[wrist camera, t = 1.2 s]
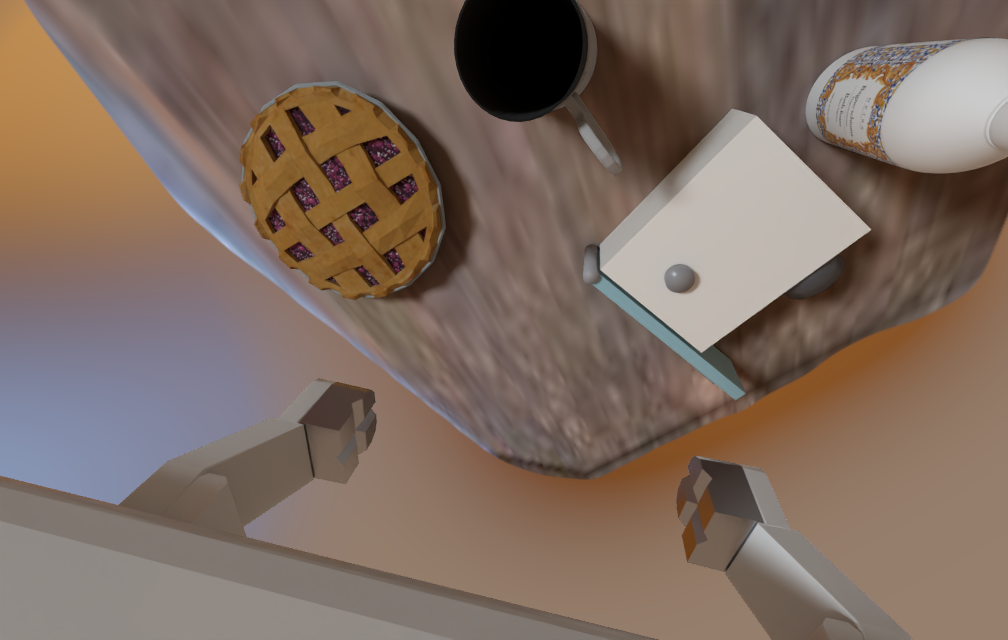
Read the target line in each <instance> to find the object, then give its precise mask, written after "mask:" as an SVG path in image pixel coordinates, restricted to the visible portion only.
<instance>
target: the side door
mask: <svg viewBox="0 0 1008 640" xmlns="http://www.w3.org/2000/svg"><path fill="white" fill-rule="evenodd" d="M583 279H584V281H585V282H586V283H588V284H593V285H594V286H595V287H596V288H597V289H599V290H600V291H601V292H602V293H604V294H605V295H606V296H607V297H609V298H610V299H611V300H612V301H614V302H615V303H616V304H617V305H618V306H620V307H621V308H622V309H623V310H625V311H626V312H627V313H628V314H630V315H631V316H632V317H633V318H635V319H636V320H637V321H638V322H640V323H641V324H642V325H643V326H644V327H646V328H647V329H648V330H649V331H651V332H652V333H653V334H654V335H656V336H657V337H658V338H659V339H661V340H662V341H663V342H664V343H665V344H667V345H668V346H669V347H670V348H672V349H673V350H674V351H675V352H677V353H678V354H679V355H680V356H682V357H683V358H684V359H685V360H686V361H688V362H689V363H690V364H691V365H693V367H694V368H695V369H696V370H697V371H698V372H699V373H701V374H702V375H703V376H704V377H706V378H707V379H708V380H709V381H711V382H712V383H713V384H716V385H717V386H719V387H720V388H721V389H722V390H724V391H725V392H726V393H727V394H729V395H730V396H731V397H732V398H733V399H735V400H736V399H738V398H739V397H741V396H743V395H744V394H746V393H745V391H744V389H743V386H742V384H741V382H740V380H739V378H738V375H737V373H736V371H735V369H734V367H733V364H732V362H731V360H730V359H729V358H728V357H726V356H725V355H724V354H723V353H722V352H720V351H719V350H718V349H717V348H716V347H714V346H713V345H711V346H710V347H709V348H707V349H706V350H705V351H703V352H702V353H701V352H700V351H699V350H697V349H696V348H695V347H694V346H692V345H691V344H690V343H689V342H688V341H686V340H685V339H684V338H683V337H681V336H680V335H679V334H678V333H677V332H675V331H674V330H673V329H672V328H670V327H669V326H668V325H667V324H666V323H664V322H663V321H662V320H661V319H659V318H658V317H657V316H656V315H655V314H653V313H652V312H651V311H650V310H649V309H647V308H646V307H645V306H644V305H642V304H641V303H640V302H639V301H638V300H636V299H635V298H634V297H633V296H631V295H630V294H629V293H628V292H627V291H625V290H624V289H623V288H622V287H620V286H619V285H618V284H617V283H616V282H614V281H613V280H612V279H611V278H610V277H608V276H607V275H606V274H605V273H603V272H602V271H601V270H600V251H599V250H598V247H597V246H596V245H593V244H590V245H588V246H587V247H586V248H585V256H584V271H583Z"/></svg>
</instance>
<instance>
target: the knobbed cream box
mask: <svg viewBox="0 0 1008 640" xmlns="http://www.w3.org/2000/svg"><path fill="white" fill-rule="evenodd" d="M870 230H871V229H870V228H869V227H868V226H867V225H866V224H865V223H864V222H863V221H862V220H861V219H860V218H859V217H858V216H857V215H856V214H855V213H854V212H853V211H852V210H851V209H850V208H849V207H848V206H847V205H846V204H845V203H844V202H843V201H842V200H841V199H840V198H839V197H838V196H837V195H836V194H835V193H834V192H833V191H832V190H831V189H830V188H829V187H828V186H827V185H826V184H825V183H824V182H823V181H822V180H821V179H820V178H819V177H818V176H817V175H816V174H815V173H814V172H813V171H812V170H811V169H810V168H809V167H808V166H807V165H806V164H805V163H804V162H803V161H802V160H801V159H800V158H799V157H798V156H797V155H796V154H795V153H794V152H793V151H792V150H791V149H790V148H789V147H787V146H786V145H785V144H784V143H783V142H782V141H781V140H780V139H779V138H778V137H777V136H776V135H775V134H774V133H773V132H772V131H771V130H770V129H769V128H768V127H767V126H766V125H765V124H764V123H763V122H762V121H761V120H760V119H759V118H758V117H757V116H755V115H752V114H749V113H746V112H742V111H739V110H736V109H733V108H732V109H731V110H730V111H729V113H728V114H727V115H726V116H725V117H724V118H723V119H722V120H721V121H720V122H719V123H718V124H717V125H716V126H715V127H714V128H713V129H712V130H711V131H710V132H709V133H708V134H707V135H706V136H705V137H704V138H703V139H702V140H701V141H700V142H699V143H698V144H697V145H696V146H695V147H694V148H693V150H692V151H691V152H690V153H689V154H688V155H687V156H686V157H685V158H684V159H683V160H682V161H681V162H680V163H679V164H678V165H677V166H676V167H675V168H674V169H673V170H672V171H671V172H670V173H669V174H668V175H667V176H666V177H665V178H664V179H663V180H662V181H661V182H660V183H659V184H658V185H657V187H656V188H655V189H654V190H653V191H652V192H651V193H650V194H649V195H648V196H647V197H646V198H645V199H644V200H643V201H642V202H641V203H640V204H639V205H638V206H637V207H636V208H635V209H634V210H633V211H632V212H631V213H630V214H629V215H628V216H627V217H626V218H625V219H624V220H623V221H622V222H621V223H620V225H619V226H618V227H617V228H616V229H615V230H614V231H613V232H612V233H611V234H610V235H609V236H608V237H607V238H606V239H605V240H604V241H603V242H602V243H601V244H600V270H601V271H602V272H603V273H605V274H606V275H607V276H608V277H610V278H611V279H612V280H613V281H614V282H616V283H617V284H618V285H619V286H620V287H622V288H623V289H624V290H625V291H627V292H628V293H629V294H630V295H631V296H633V297H634V298H635V299H636V300H638V301H639V302H640V303H641V304H642V305H644V306H645V307H646V308H647V309H649V310H650V311H651V312H652V313H653V314H655V315H656V316H657V317H658V318H659V319H661V320H662V321H663V322H664V323H666V324H667V325H668V326H669V327H670V328H672V329H673V330H674V331H675V332H677V333H678V334H679V335H680V336H681V337H683V338H684V339H685V340H686V341H688V342H689V343H690V344H691V345H692V346H694V347H695V348H696V349H697V350H699V351H700V352H701V353H702V352H703V351H705V350H706V349H707V348H709V347H710V346H711V345H713V344H714V343H716V342H717V341H718V340H720V339H721V338H722V337H724V336H725V335H727V334H728V333H729V332H731V331H732V330H734V329H735V328H736V327H738V326H739V325H740V324H742V323H743V322H745V321H746V320H747V319H749V318H750V317H751V316H753V315H754V314H756V313H757V312H758V311H760V310H761V309H763V308H764V307H765V306H767V305H768V304H769V303H771V302H772V301H774V300H775V299H776V298H778V297H779V296H780V295H782V294H783V293H784V294H786V295H787V296H788V297H789V298H792V299H805V298H809V297H812V296H814V295H816V294H819V293H820V292H822V291H824V290H825V289H827V288H828V287H829V286H831V285H832V284H833V283H834V282H835V281H836V280H837V279H838V278H839V276H840V275H841V273H842V272H843V269H844V266H845V261H844V258H843V257H842V256H841V255H840V254H839V253H840V252H841V251H843V250H844V249H845V248H847V247H848V246H850V245H851V244H852V243H854V242H855V241H856V240H858V239H859V238H861V237H862V236H863V235H865V234H866V233H867V232H869V231H870Z"/></svg>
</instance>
